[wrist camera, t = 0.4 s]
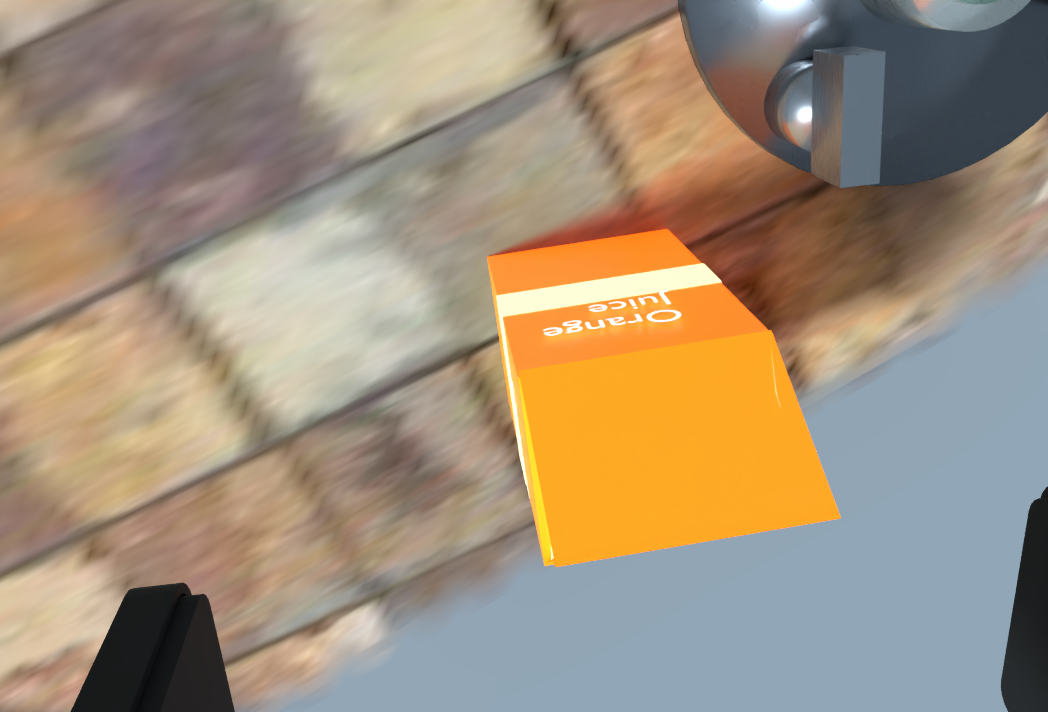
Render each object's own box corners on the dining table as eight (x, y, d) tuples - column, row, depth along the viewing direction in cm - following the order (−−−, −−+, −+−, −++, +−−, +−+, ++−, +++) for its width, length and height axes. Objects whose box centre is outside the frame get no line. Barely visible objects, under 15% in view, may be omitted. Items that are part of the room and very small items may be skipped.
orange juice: (679, 374, 48) (844, 623, 29) (507, 402, 47) (564, 672, 29) (668, 224, 45) (844, 397, 26) (484, 252, 44) (532, 448, 26)
